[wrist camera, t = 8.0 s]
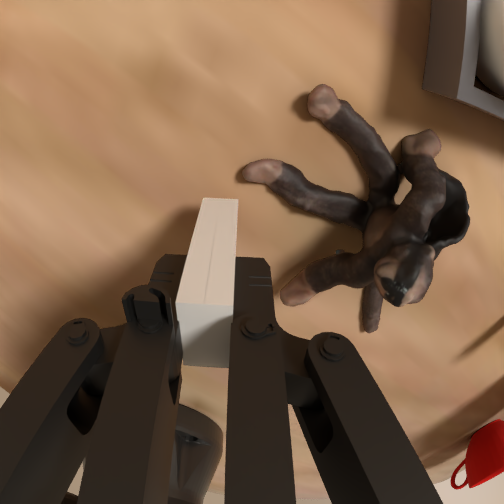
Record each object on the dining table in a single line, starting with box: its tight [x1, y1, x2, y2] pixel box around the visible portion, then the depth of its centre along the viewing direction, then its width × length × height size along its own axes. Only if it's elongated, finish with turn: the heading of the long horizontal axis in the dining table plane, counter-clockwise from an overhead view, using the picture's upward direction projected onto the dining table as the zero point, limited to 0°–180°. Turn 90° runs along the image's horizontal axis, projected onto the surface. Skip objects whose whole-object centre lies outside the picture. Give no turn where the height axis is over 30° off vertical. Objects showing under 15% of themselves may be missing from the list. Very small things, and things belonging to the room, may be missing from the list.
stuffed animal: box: [242, 84, 470, 333], centre depth 16 cm, size 12×10×12 cm
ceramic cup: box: [451, 419, 504, 489], centre depth 36 cm, size 13×17×10 cm
